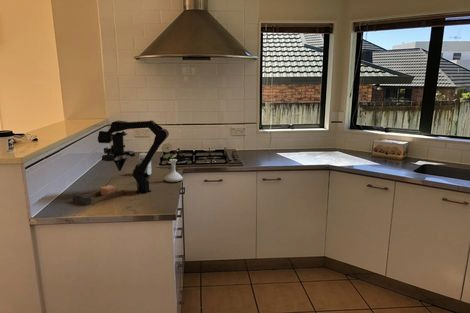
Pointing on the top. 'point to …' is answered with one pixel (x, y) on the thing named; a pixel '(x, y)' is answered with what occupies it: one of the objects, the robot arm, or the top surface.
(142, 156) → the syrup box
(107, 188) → the block
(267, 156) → the top surface
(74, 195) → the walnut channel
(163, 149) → the flower in vase
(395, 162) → the top surface
